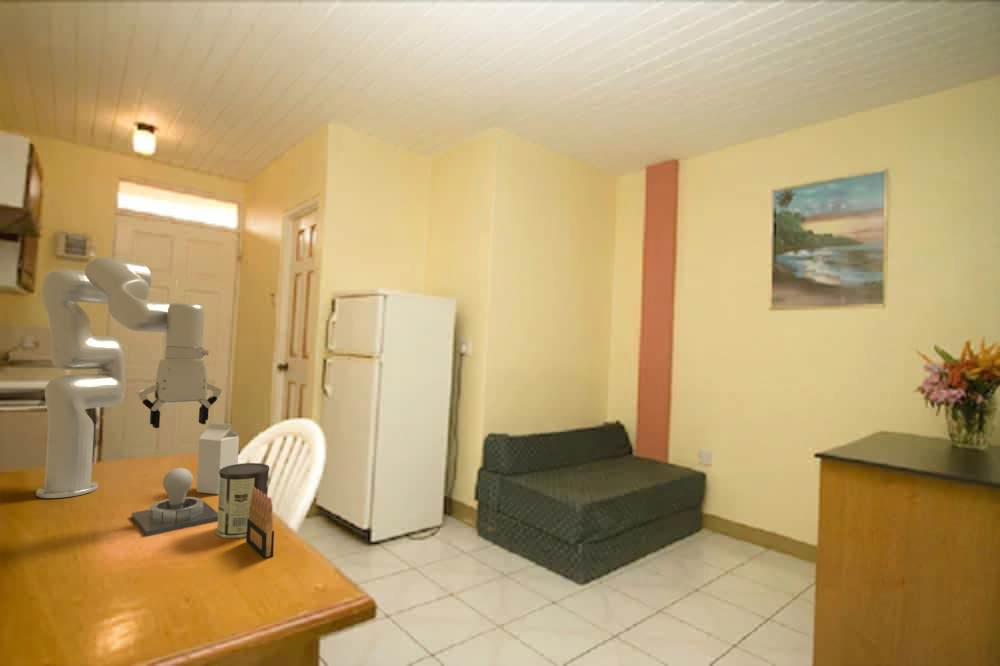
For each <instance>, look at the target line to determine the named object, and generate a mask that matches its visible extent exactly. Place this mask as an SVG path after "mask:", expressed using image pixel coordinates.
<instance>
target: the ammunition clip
mask: <svg viewBox="0 0 1000 666" xmlns="http://www.w3.org/2000/svg"><path fill="white" fill-rule="evenodd" d="M273 513H274V512H273V500H272V497H269V496H268V495H266V497H265V494H264V493H263V494H262V492H261V491H260V492H259V490H258V489H257V490H256V487H254V488H253V491H252V496H251V504H250V510H249V519H248V522H247V537H245V538H246V539H245V542H247V543H248V544H249V545H248V544H247V543H246V544H247V545H248V546H250V548H252V549H253V551H255V553H257V554H258V555H259V556H260V557H261V558H262V559H267V558H272V557H274V548H275V547H274V546H275V545H274V544H275V541H274V540H275V530H273V528H274V515H273Z"/></svg>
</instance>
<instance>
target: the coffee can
mask: <svg viewBox="0 0 1000 666" xmlns="http://www.w3.org/2000/svg"><path fill="white" fill-rule="evenodd" d="M269 472H270V466H269V465H267V464H265V463H261V462H260V463H259V462H257V463H256V462H251V463H250V462H247V463H238V464H235V465H230V466H227V467H224V468H222V469H220V470H219V474H220V481H219V494H218V504H217V505H218V509H217V513H218V521H217V526H216V527H217V528H216V534H217V536H219V537H221V538H224V539H225V538H226V539H242V538H246V537H247V522H248V519H249V510H250V504H251V496H252V491H253V488H254V487H256V490H257V489H258V490H259V492H260V491H261V492H262V494H263V493H264V494H265V497H266V495H267V496H268V494H269V493H268V492H269V474H270V473H269Z"/></svg>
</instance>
